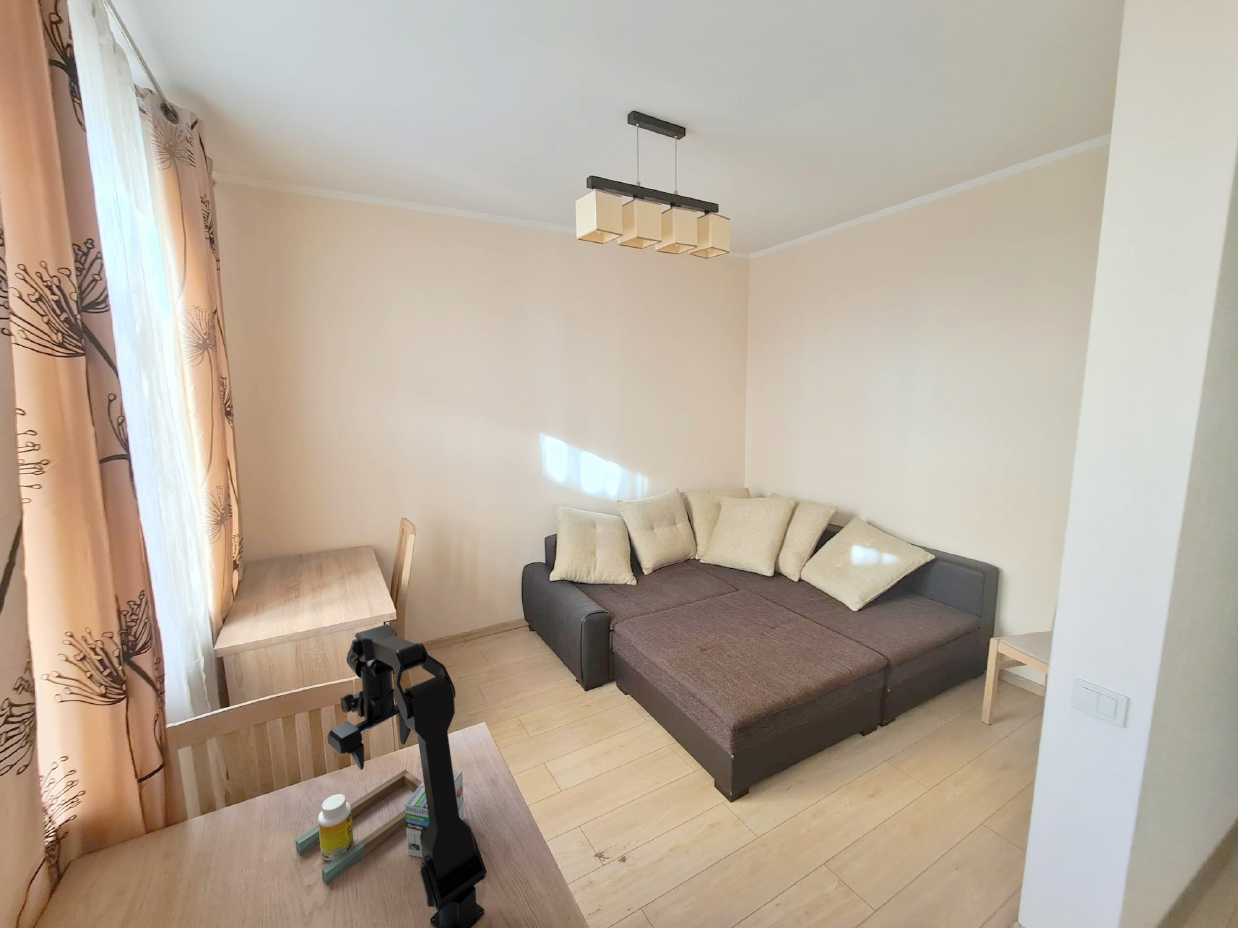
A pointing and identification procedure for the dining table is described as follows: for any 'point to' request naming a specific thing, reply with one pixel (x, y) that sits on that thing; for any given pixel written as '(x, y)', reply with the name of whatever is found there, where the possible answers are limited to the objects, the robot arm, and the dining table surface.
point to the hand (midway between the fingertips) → (382, 755)
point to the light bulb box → (425, 814)
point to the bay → (370, 841)
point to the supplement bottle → (335, 827)
